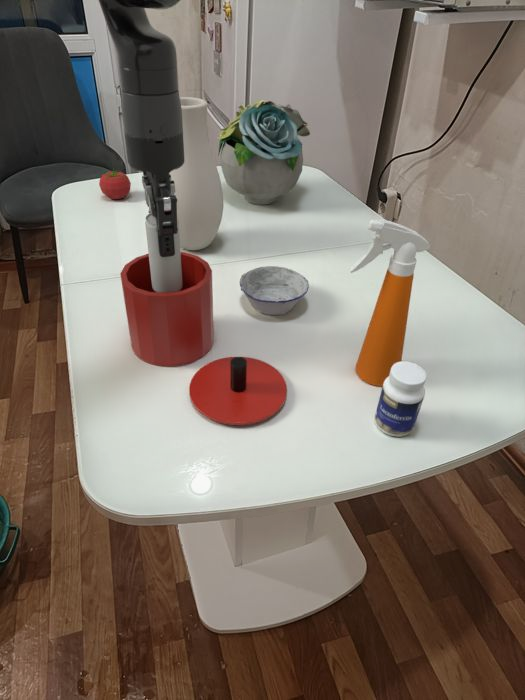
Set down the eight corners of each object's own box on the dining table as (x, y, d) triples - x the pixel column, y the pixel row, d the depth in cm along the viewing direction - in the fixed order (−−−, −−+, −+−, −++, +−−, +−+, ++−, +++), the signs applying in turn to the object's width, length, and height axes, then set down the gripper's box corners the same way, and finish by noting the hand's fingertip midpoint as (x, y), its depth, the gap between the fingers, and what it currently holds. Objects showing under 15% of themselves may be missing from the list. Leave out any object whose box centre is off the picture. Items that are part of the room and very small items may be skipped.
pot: (184, 376, 80) (179, 305, 72) (114, 350, 85) (101, 280, 77) (227, 331, 90) (227, 263, 82) (162, 310, 95) (156, 243, 86)
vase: (151, 242, 116) (135, 98, 97) (200, 226, 123) (194, 90, 105) (185, 266, 108) (175, 114, 89) (236, 247, 115) (236, 104, 97)
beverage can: (146, 292, 80) (138, 220, 73) (162, 278, 83) (156, 208, 76) (173, 299, 79) (167, 226, 71) (188, 285, 82) (184, 214, 75)
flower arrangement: (319, 193, 143) (329, 98, 128) (283, 226, 125) (291, 120, 110) (240, 176, 151) (241, 85, 136) (196, 205, 133) (192, 104, 118)
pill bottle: (370, 431, 73) (383, 378, 67) (378, 405, 77) (391, 353, 71) (410, 443, 71) (427, 391, 65) (416, 416, 76) (433, 364, 69)
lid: (260, 442, 70) (261, 411, 67) (170, 406, 75) (167, 375, 71) (301, 379, 81) (304, 349, 77) (220, 351, 86) (219, 321, 82)
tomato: (119, 205, 131) (115, 176, 126) (95, 199, 134) (90, 170, 129) (138, 195, 137) (134, 166, 132) (114, 189, 139) (110, 161, 135)
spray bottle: (329, 359, 85) (352, 209, 69) (392, 358, 86) (429, 209, 70) (337, 388, 80) (364, 232, 63) (404, 386, 81) (448, 232, 64)
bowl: (268, 331, 91) (269, 308, 88) (225, 299, 98) (225, 277, 95) (320, 307, 97) (323, 285, 94) (276, 279, 105) (278, 258, 102)
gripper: (117, 114, 70) (132, 229, 81) (131, 146, 60) (146, 273, 70) (171, 112, 72) (179, 225, 83) (194, 142, 62) (199, 266, 72)
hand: (163, 246), depth 76 cm, fingers closed on beverage can, 5 cm apart
